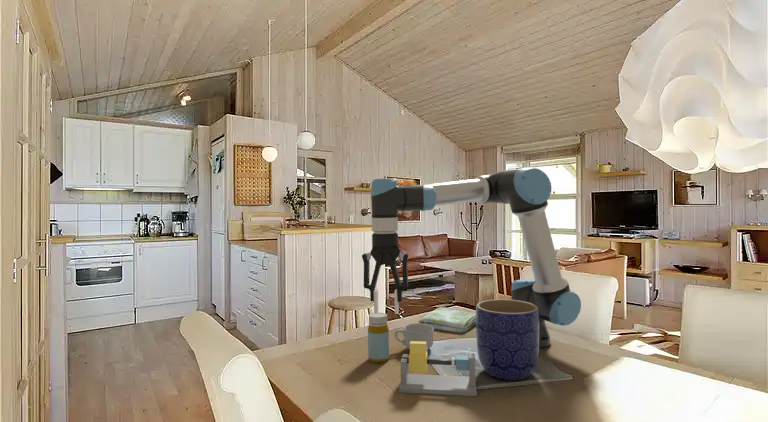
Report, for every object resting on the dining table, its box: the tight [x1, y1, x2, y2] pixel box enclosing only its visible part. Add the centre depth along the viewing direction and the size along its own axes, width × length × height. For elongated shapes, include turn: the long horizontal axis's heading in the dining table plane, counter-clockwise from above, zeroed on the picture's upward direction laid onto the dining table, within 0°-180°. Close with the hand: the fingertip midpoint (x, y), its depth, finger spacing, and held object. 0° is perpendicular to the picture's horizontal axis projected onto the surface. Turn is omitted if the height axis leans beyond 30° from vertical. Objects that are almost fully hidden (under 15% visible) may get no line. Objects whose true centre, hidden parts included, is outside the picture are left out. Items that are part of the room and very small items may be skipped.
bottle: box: [367, 312, 390, 364], centre depth 146 cm, size 7×7×15 cm
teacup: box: [394, 322, 435, 351], centre depth 155 cm, size 14×11×8 cm
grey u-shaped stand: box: [398, 352, 478, 397], centre depth 124 cm, size 21×10×9 cm, turn 81°
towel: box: [417, 307, 476, 334], centre depth 185 cm, size 18×21×5 cm
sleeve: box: [408, 341, 429, 373], centre depth 124 cm, size 5×4×8 cm
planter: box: [475, 298, 540, 381], centre depth 132 cm, size 18×18×21 cm
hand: (386, 312), depth 126 cm, fingers open, 5 cm apart
